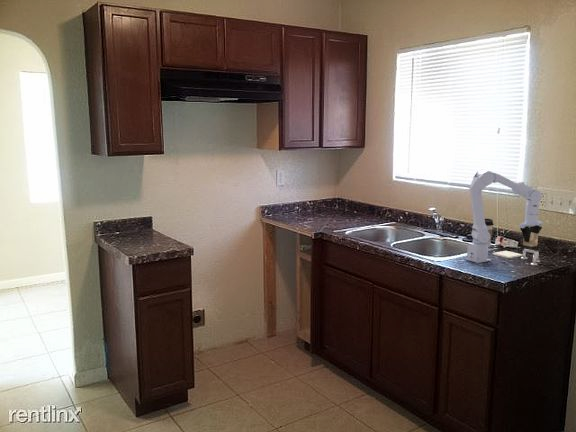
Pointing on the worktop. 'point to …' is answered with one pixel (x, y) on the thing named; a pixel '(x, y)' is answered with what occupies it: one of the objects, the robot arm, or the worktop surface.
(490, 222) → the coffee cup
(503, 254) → the cream pad
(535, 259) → the grey white arch
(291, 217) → the worktop surface
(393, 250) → the worktop surface
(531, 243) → the maple block
